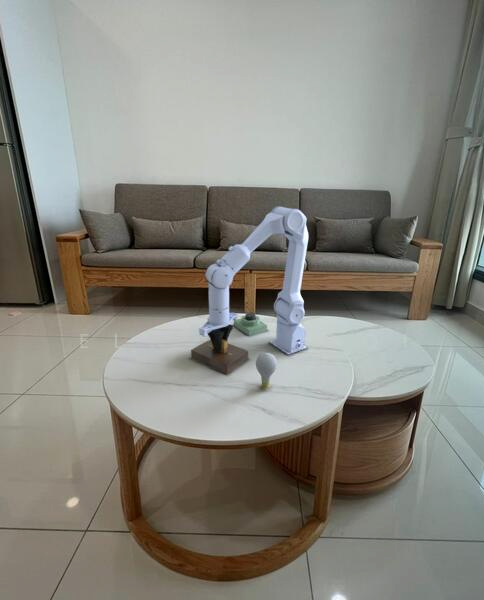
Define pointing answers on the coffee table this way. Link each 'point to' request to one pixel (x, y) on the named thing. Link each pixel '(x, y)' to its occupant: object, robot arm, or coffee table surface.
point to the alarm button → (250, 316)
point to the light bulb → (266, 367)
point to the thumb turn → (223, 346)
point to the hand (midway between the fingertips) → (219, 348)
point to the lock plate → (219, 357)
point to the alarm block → (250, 325)
